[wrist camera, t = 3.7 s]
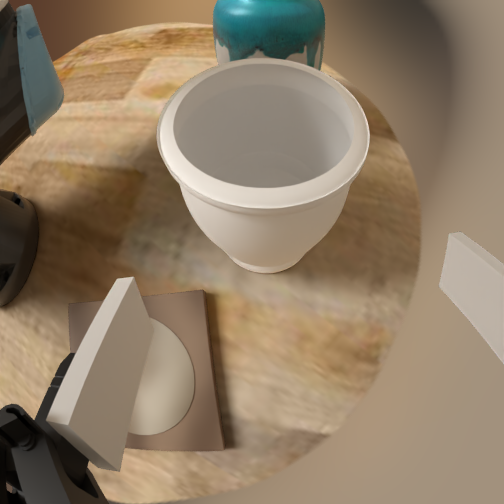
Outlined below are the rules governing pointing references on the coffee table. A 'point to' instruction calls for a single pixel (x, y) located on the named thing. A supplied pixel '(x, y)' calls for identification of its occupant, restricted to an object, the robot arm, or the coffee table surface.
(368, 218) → the coffee table surface
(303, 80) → the jar
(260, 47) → the vase
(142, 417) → the walnut board
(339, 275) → the coffee table surface
